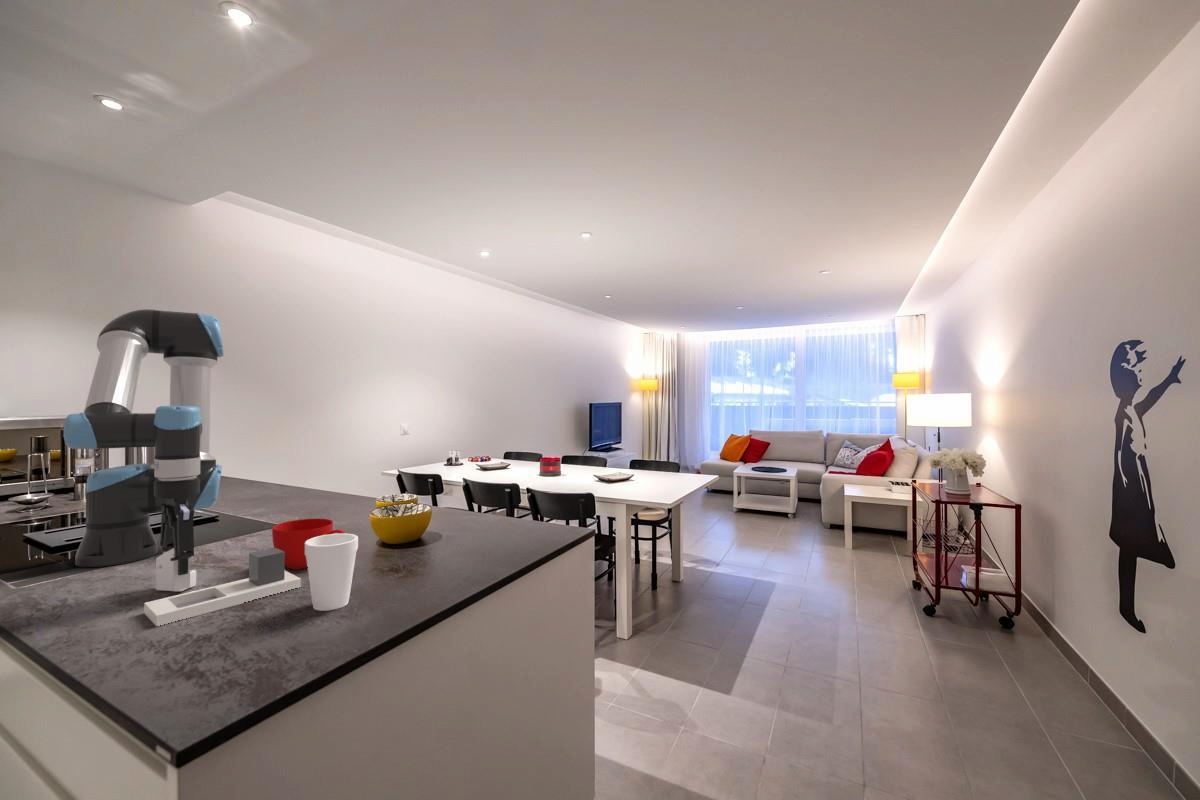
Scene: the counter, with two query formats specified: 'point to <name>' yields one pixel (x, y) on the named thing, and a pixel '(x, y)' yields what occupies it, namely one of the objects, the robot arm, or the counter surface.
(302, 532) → the ceramic cup
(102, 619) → the counter surface
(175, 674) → the counter surface
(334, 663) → the counter surface
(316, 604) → the foam cup
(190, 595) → the white slotted base plate
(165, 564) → the white angled block
